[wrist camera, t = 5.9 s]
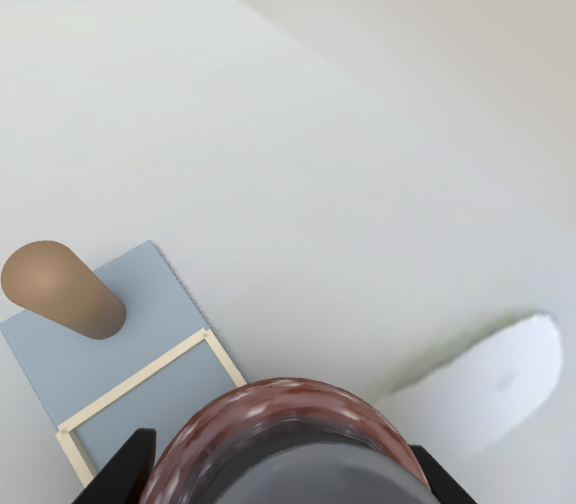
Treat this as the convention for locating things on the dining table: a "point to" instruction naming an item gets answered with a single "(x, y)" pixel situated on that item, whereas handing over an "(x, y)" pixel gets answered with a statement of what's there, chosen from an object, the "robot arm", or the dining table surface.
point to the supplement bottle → (287, 451)
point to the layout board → (111, 348)
